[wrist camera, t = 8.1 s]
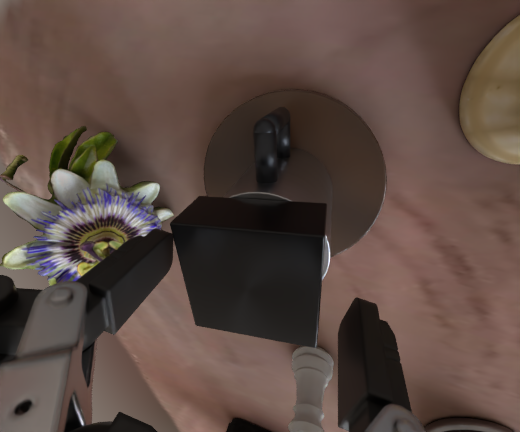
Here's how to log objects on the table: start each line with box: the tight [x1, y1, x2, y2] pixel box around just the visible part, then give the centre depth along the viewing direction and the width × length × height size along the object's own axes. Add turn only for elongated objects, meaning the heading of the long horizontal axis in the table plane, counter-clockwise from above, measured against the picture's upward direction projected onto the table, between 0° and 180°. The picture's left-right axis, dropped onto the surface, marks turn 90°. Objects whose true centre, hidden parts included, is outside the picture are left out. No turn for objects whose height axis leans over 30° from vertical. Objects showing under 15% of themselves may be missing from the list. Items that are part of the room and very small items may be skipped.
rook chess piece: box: [288, 346, 334, 432], centre depth 25 cm, size 4×4×8 cm
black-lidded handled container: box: [170, 107, 332, 348], centre depth 14 cm, size 9×6×10 cm
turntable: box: [204, 89, 387, 257], centre depth 19 cm, size 13×13×1 cm
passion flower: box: [0, 126, 174, 286], centre depth 21 cm, size 11×11×12 cm
